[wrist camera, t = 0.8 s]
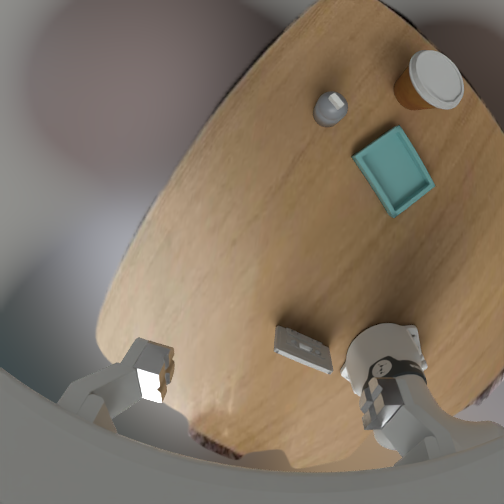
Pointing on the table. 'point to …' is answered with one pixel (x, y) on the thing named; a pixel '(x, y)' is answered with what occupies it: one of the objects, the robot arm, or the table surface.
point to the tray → (394, 171)
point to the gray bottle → (330, 109)
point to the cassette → (302, 349)
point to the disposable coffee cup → (429, 82)
